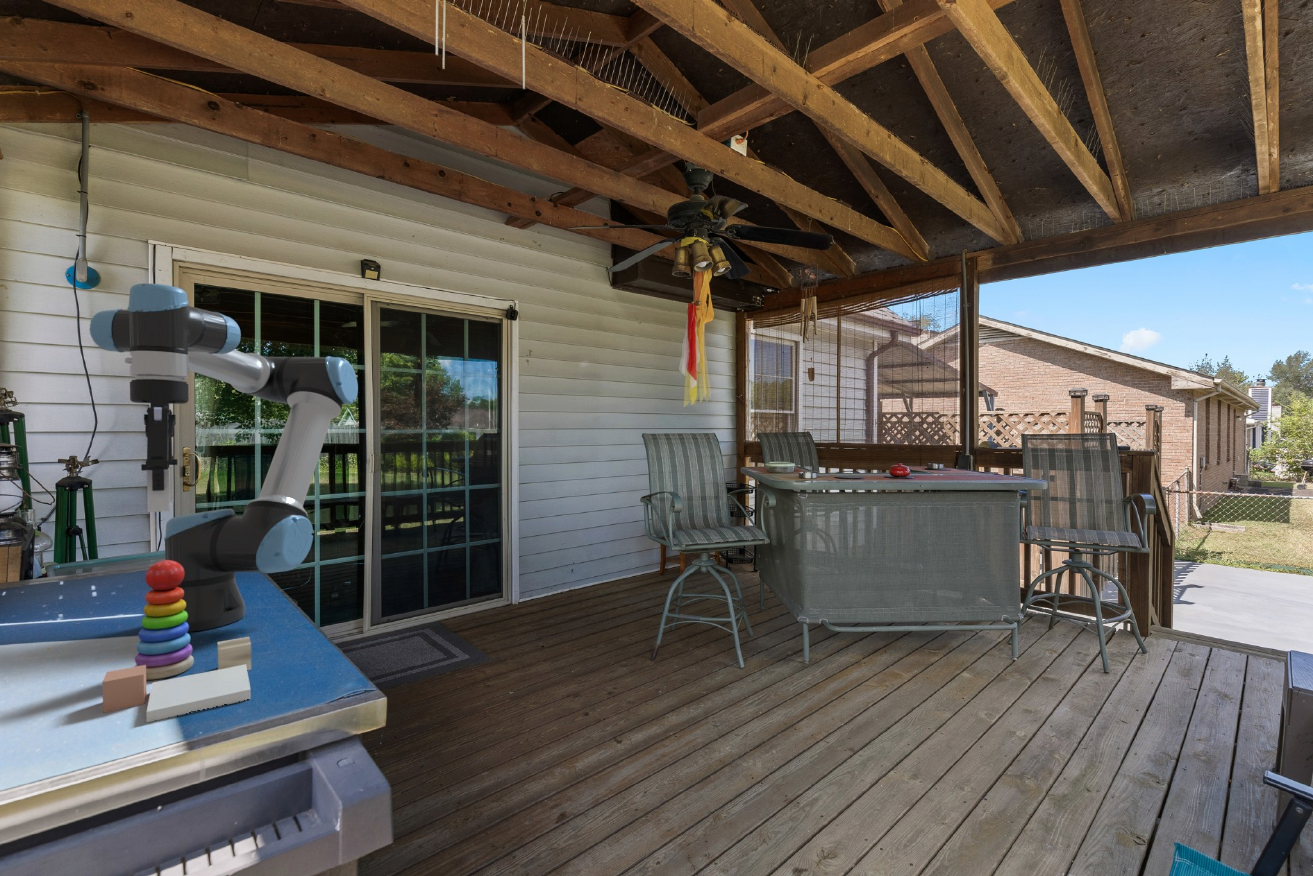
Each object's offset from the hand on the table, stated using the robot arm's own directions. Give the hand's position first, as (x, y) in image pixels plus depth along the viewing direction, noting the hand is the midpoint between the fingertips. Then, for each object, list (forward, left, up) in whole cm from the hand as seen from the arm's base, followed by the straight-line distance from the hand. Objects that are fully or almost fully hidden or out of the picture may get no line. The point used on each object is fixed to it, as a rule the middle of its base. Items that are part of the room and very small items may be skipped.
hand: (161, 507), depth 100 cm
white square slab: (+15, +5, -28) cm, 32 cm away
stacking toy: (0, 0, -28) cm, 28 cm away
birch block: (+5, +10, -28) cm, 30 cm away
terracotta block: (+11, -4, -28) cm, 30 cm away
